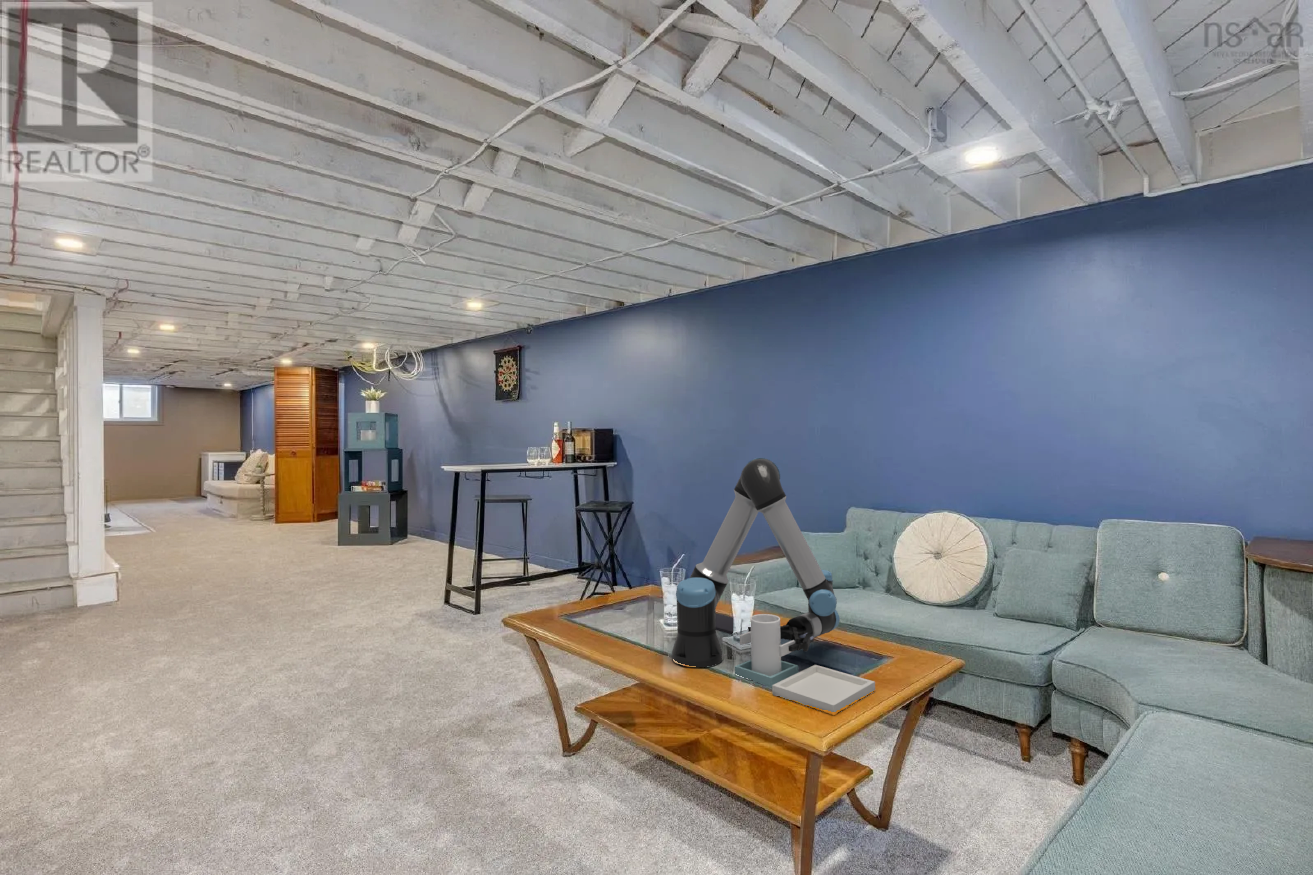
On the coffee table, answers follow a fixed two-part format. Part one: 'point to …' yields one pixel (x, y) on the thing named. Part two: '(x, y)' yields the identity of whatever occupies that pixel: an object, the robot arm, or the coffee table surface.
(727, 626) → the dark upright panel
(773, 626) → the cup
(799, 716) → the coffee table surface
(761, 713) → the coffee table surface
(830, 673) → the tray
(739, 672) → the collar
